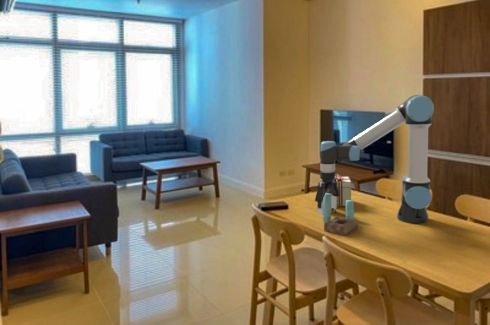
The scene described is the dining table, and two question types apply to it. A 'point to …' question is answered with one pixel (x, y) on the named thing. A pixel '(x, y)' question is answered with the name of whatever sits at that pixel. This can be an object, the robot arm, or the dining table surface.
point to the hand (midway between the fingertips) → (327, 211)
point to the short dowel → (350, 214)
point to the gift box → (343, 189)
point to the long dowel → (327, 207)
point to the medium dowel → (349, 204)
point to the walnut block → (341, 226)
